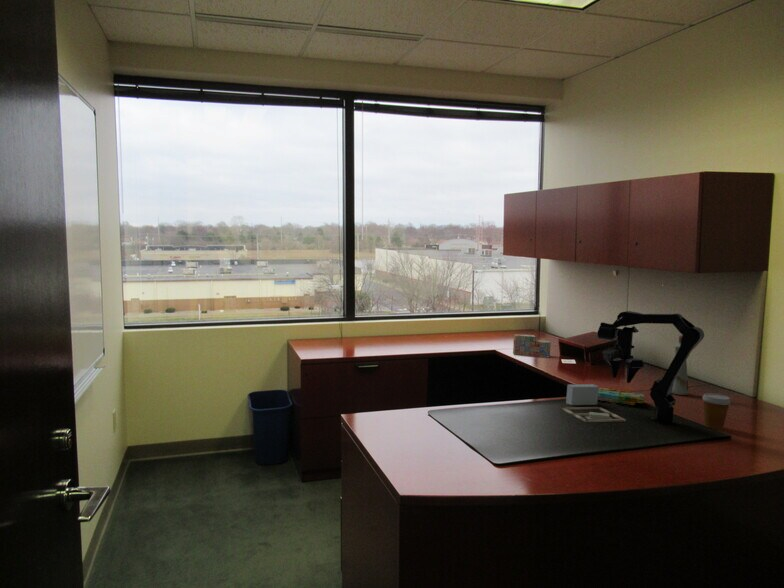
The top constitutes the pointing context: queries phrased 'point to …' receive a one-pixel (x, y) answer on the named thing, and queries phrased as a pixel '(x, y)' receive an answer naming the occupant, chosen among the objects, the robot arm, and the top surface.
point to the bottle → (680, 377)
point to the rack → (588, 414)
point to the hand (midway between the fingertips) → (621, 380)
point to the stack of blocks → (530, 346)
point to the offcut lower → (592, 418)
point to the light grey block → (582, 394)
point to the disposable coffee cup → (715, 410)
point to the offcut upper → (598, 415)
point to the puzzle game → (620, 396)
